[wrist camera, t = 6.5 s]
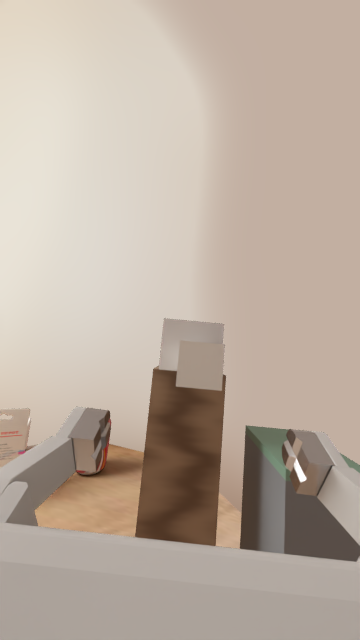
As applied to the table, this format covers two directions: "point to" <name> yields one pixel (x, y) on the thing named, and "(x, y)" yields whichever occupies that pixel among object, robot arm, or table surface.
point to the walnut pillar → (181, 462)
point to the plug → (193, 353)
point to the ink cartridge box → (13, 434)
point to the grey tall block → (286, 506)
